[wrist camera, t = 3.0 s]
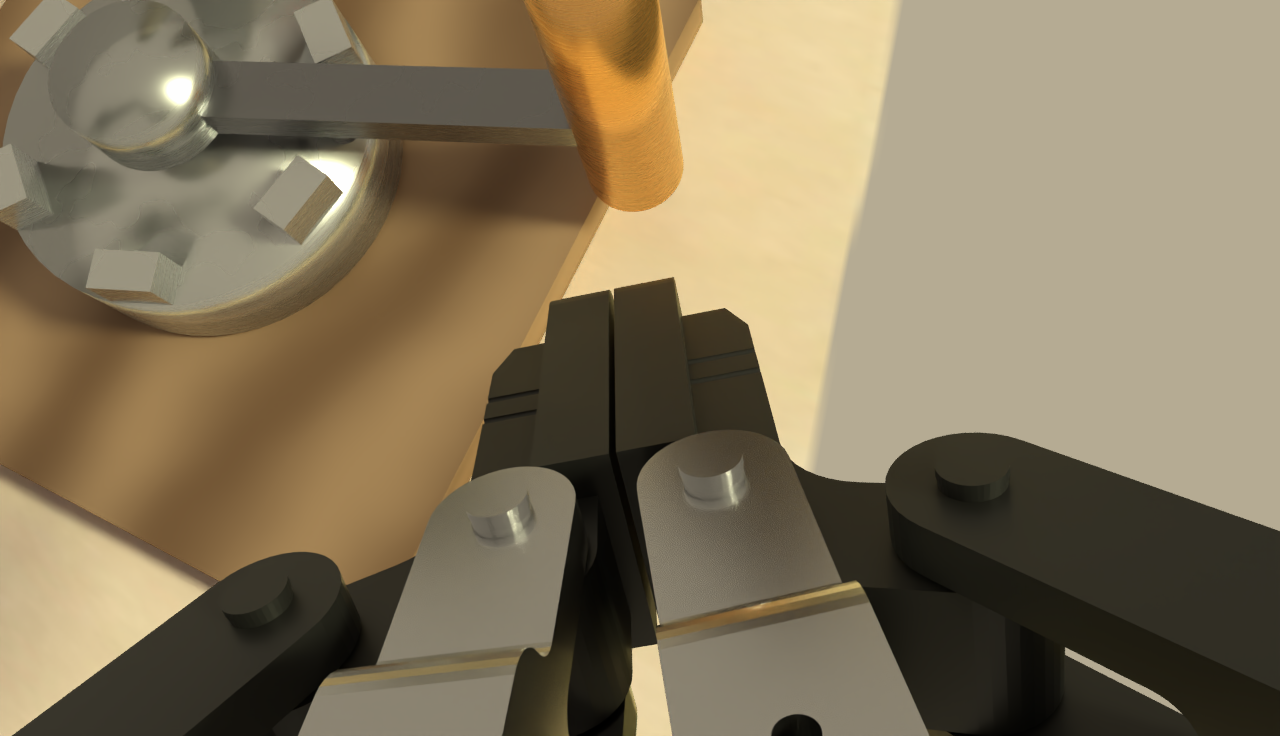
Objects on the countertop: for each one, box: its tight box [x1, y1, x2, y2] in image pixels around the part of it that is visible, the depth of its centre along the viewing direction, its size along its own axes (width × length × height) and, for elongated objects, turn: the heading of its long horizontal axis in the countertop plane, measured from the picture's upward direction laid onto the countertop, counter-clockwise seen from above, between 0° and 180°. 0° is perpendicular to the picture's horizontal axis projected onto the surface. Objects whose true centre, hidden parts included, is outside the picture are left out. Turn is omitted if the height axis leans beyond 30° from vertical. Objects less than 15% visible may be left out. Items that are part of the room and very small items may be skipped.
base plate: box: [0, 0, 703, 585], centre depth 35 cm, size 24×24×2 cm
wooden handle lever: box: [0, 0, 683, 336], centre depth 27 cm, size 22×12×14 cm, turn 85°
